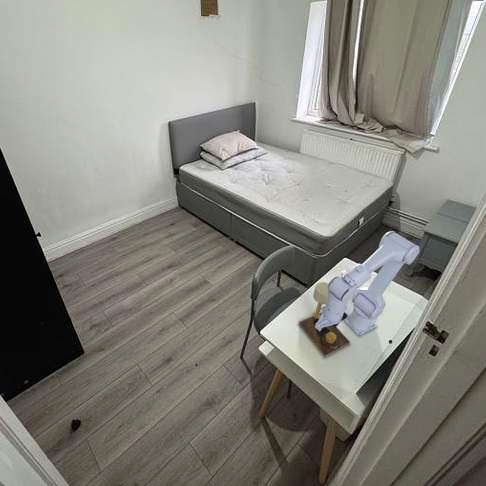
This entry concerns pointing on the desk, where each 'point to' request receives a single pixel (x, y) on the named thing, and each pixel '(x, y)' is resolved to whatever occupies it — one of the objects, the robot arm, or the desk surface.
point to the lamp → (320, 297)
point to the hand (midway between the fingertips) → (326, 330)
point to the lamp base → (322, 343)
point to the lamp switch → (330, 337)
